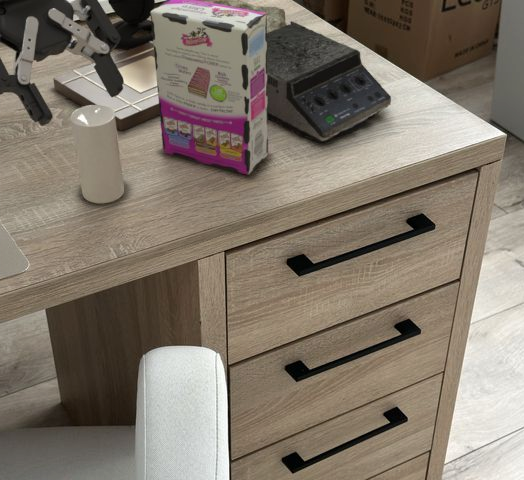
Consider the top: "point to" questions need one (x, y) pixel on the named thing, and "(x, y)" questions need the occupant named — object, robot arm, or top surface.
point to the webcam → (133, 21)
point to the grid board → (134, 87)
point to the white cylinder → (97, 153)
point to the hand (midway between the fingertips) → (83, 107)
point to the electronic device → (318, 84)
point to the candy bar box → (212, 83)
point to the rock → (273, 13)
